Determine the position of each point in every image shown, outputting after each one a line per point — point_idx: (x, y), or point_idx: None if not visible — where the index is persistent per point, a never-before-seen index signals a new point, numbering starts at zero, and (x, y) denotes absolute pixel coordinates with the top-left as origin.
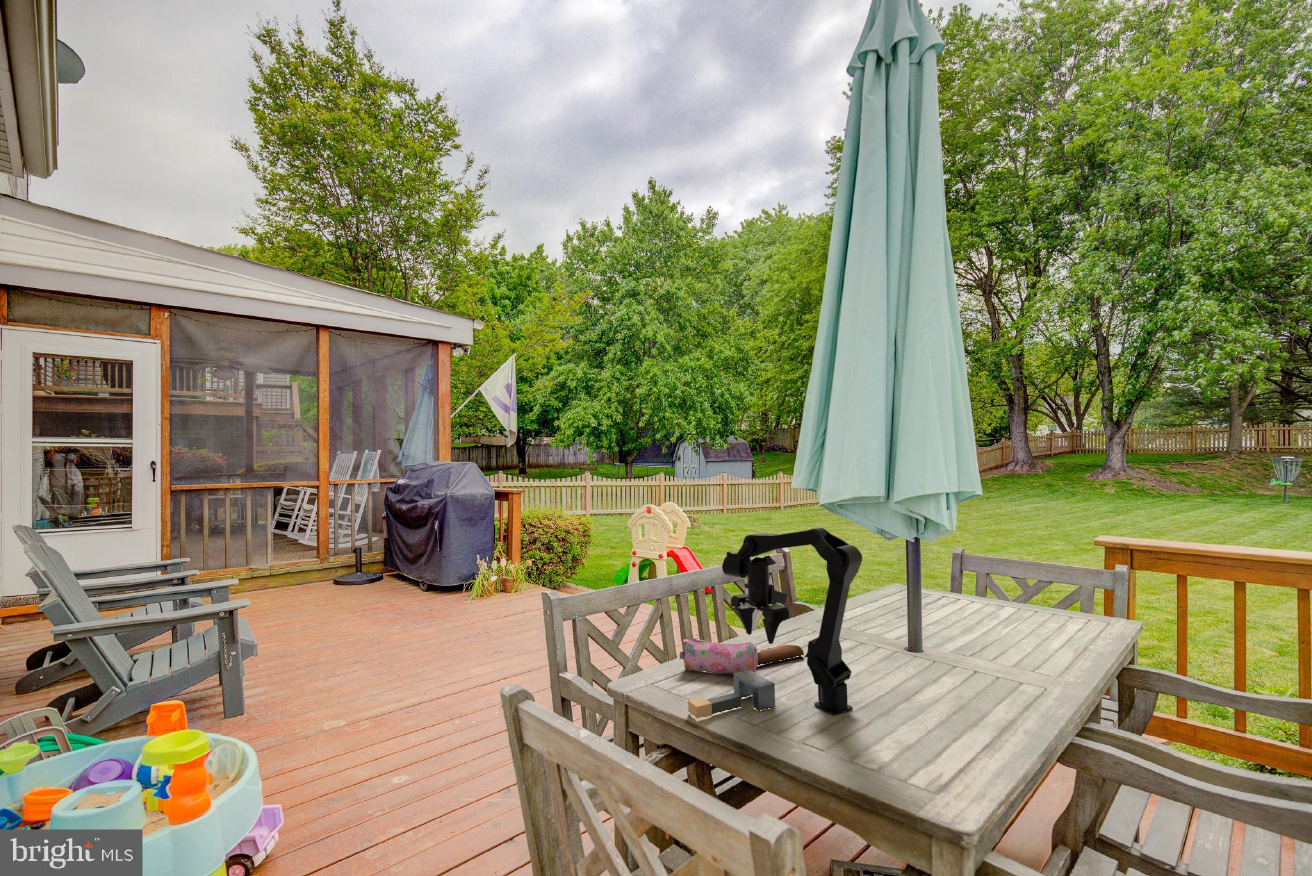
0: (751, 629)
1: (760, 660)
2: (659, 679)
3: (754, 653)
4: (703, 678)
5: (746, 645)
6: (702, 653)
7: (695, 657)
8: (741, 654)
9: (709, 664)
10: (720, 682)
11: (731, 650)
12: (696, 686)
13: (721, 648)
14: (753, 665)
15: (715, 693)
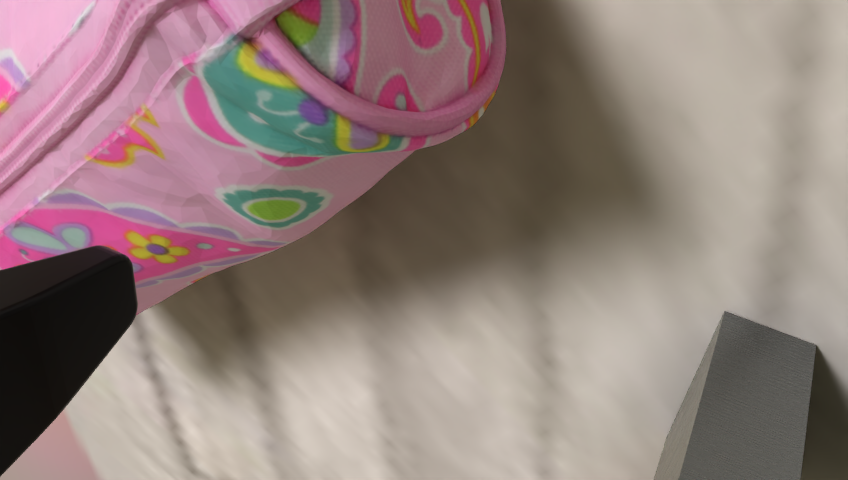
0: (44, 308)
1: None
2: (154, 407)
3: (365, 56)
4: (255, 263)
5: (178, 87)
6: None
7: None
8: (295, 199)
9: (192, 283)
10: (381, 255)
11: (160, 206)
12: (342, 396)
13: (81, 241)
14: (486, 102)
15: (511, 436)
